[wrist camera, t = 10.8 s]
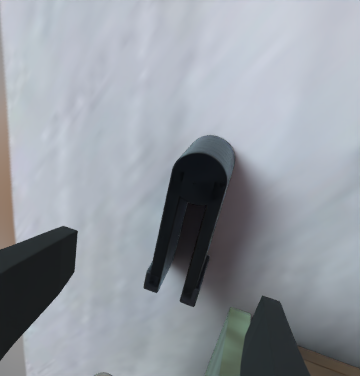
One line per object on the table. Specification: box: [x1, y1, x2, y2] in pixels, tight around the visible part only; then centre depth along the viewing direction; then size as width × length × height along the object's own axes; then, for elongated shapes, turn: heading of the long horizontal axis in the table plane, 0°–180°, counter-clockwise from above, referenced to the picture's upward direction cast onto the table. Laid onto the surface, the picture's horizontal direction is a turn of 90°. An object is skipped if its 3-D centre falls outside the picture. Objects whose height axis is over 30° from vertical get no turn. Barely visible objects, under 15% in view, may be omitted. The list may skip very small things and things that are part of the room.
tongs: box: [144, 135, 235, 307], centre depth 16 cm, size 8×3×3 cm, turn 167°
